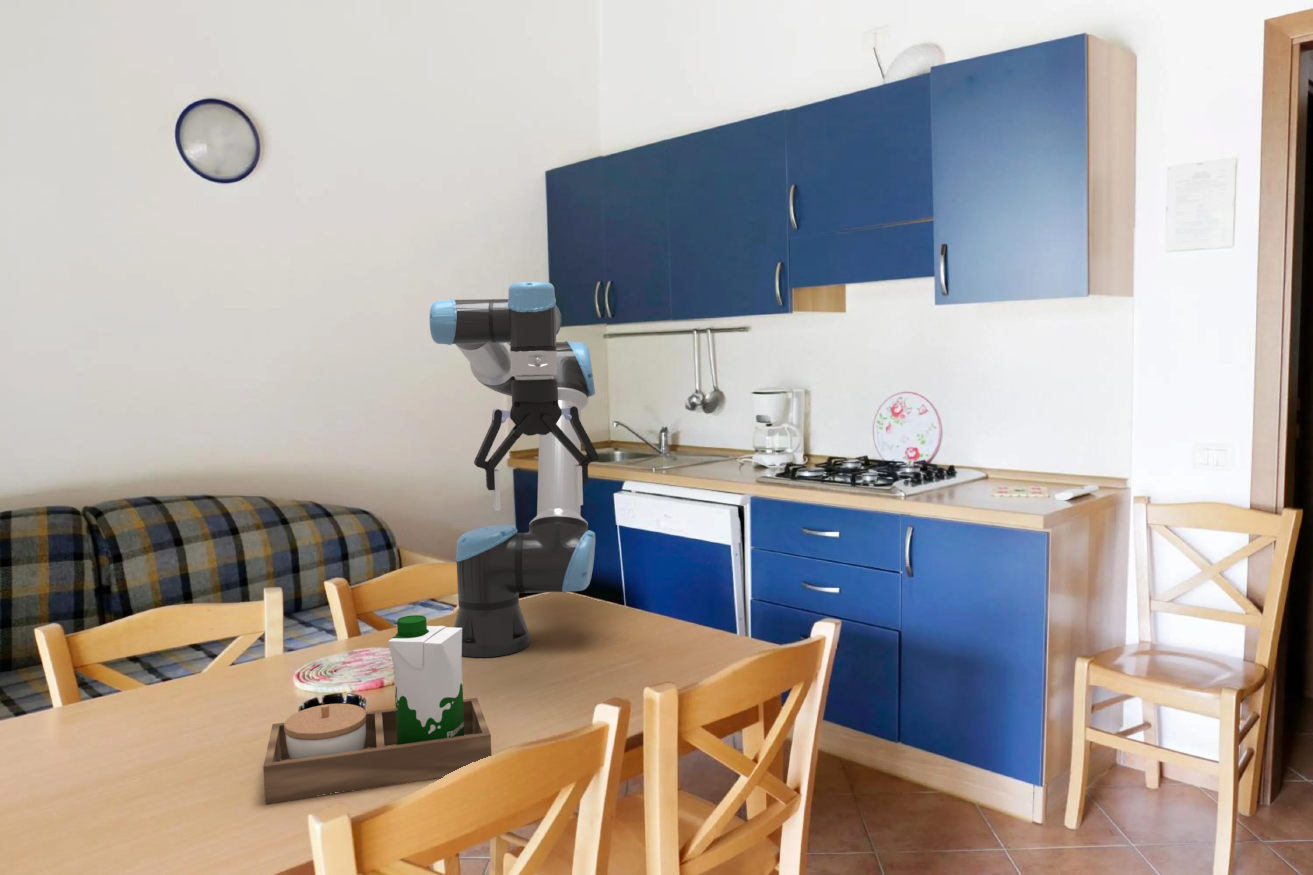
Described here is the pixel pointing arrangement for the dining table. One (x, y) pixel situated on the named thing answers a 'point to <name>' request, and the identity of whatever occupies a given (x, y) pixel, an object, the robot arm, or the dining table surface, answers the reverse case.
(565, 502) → the robot arm
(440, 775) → the organizer
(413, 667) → the soya milk
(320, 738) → the lidded jar
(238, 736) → the dining table surface
